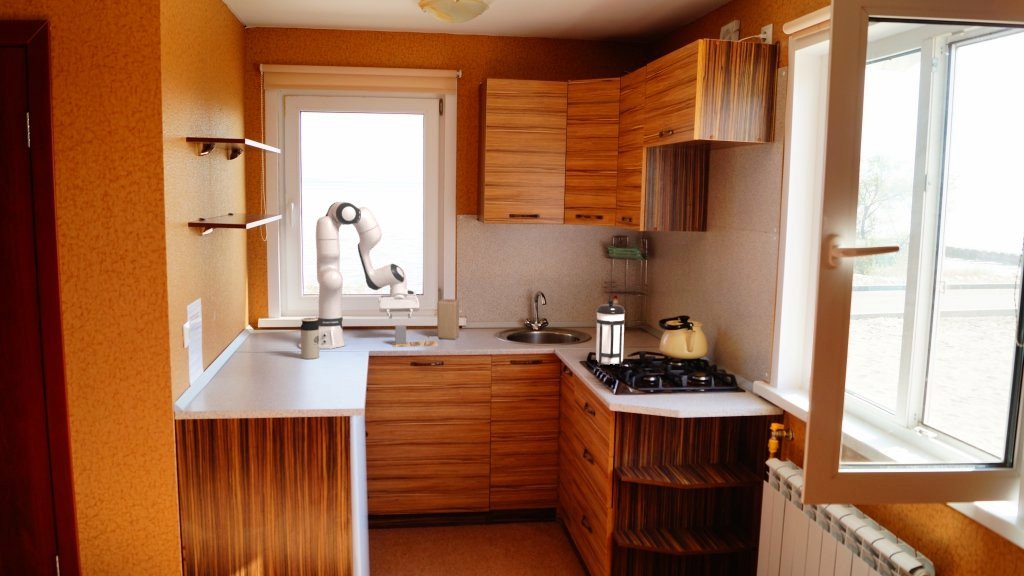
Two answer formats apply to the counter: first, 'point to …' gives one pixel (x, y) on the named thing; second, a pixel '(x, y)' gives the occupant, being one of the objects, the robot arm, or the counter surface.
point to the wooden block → (448, 319)
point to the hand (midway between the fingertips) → (400, 317)
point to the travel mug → (309, 338)
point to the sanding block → (400, 335)
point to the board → (417, 344)
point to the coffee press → (610, 333)
